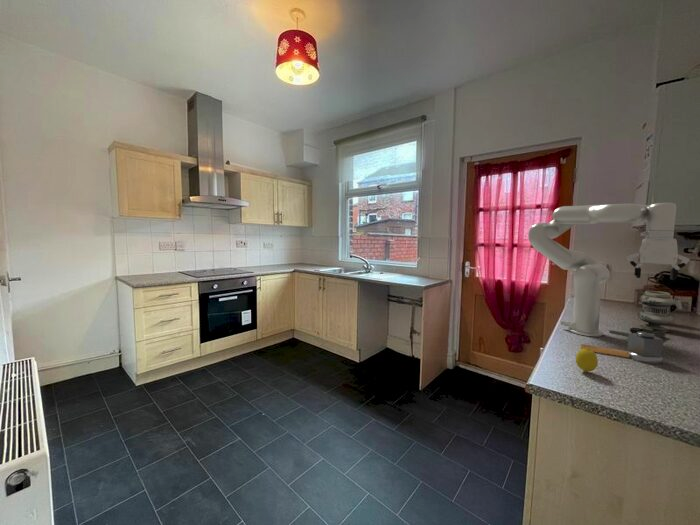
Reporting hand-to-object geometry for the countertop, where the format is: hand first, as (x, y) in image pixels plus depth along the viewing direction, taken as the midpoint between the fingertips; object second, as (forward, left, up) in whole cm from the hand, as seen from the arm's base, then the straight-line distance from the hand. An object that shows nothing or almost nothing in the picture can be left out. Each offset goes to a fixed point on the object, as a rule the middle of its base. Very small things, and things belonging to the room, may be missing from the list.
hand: (654, 278), depth 116 cm
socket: (-5, -18, -26) cm, 32 cm away
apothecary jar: (+10, +35, -28) cm, 46 cm away
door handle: (-1, +15, -28) cm, 32 cm away
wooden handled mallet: (-12, -18, -28) cm, 35 cm away
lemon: (-24, -43, -28) cm, 56 cm away
